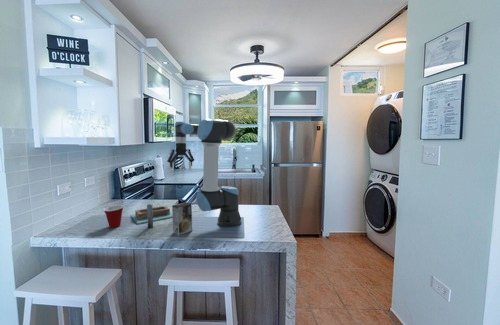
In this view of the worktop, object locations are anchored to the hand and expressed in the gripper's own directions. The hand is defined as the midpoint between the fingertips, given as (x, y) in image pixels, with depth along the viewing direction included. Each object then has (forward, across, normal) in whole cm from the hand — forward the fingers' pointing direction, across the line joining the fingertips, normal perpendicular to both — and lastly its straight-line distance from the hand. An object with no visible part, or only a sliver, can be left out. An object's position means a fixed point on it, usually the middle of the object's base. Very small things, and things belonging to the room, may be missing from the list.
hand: (181, 171), depth 178 cm
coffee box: (+30, +18, +42) cm, 55 cm away
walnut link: (+28, +23, +4) cm, 37 cm away
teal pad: (+29, +23, +4) cm, 38 cm away
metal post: (+30, +30, +24) cm, 49 cm away
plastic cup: (+30, +47, +8) cm, 56 cm away
